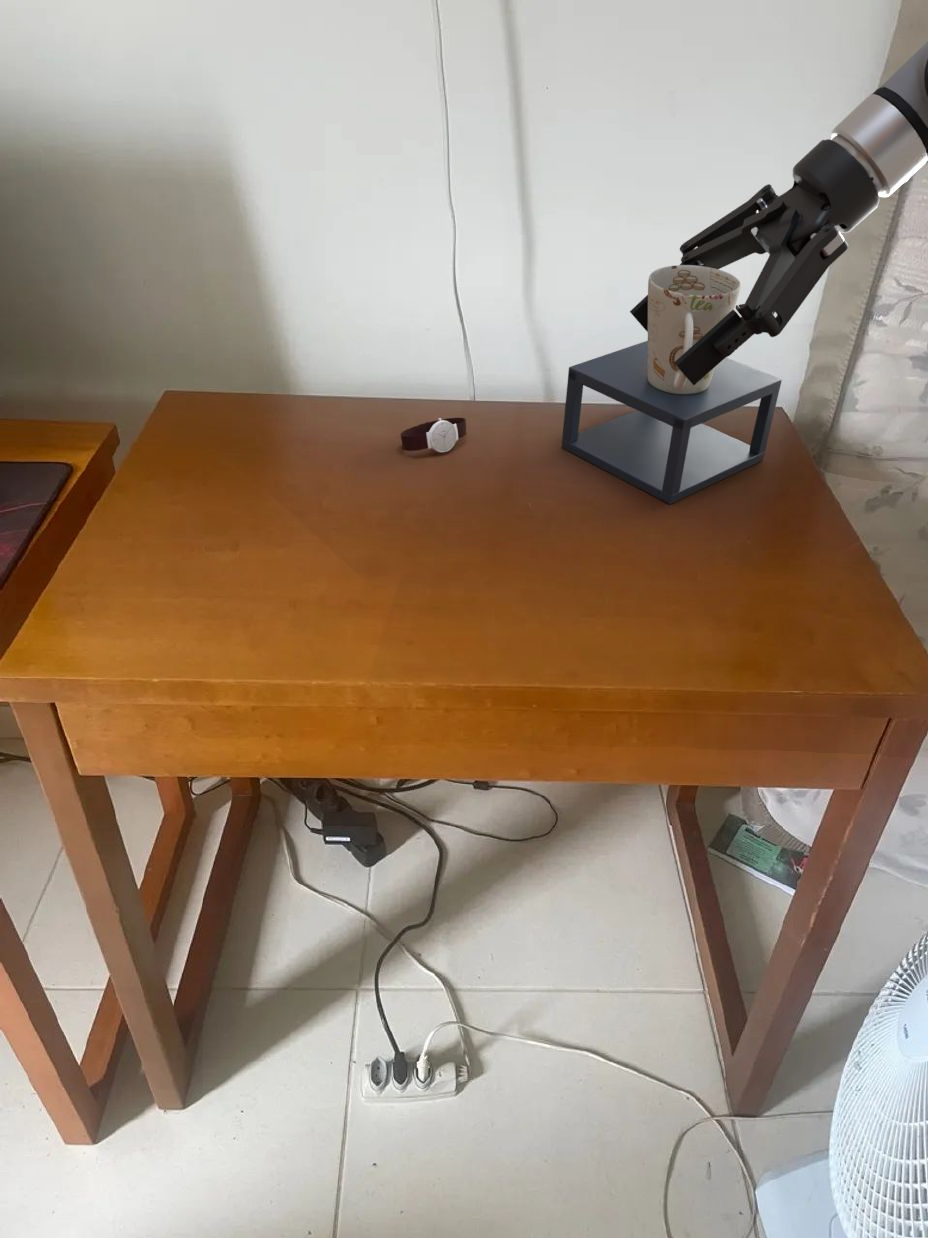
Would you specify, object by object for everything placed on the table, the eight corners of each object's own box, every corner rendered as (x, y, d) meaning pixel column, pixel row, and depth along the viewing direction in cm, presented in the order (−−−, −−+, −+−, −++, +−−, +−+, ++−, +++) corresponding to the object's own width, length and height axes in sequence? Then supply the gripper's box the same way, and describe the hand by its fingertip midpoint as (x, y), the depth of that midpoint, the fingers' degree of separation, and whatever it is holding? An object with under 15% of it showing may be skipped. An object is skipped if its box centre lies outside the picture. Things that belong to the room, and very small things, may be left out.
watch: (415, 464, 100) (415, 431, 98) (390, 446, 103) (390, 414, 101) (476, 445, 104) (477, 413, 102) (450, 428, 107) (451, 397, 105)
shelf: (763, 460, 103) (782, 379, 98) (669, 504, 95) (684, 419, 90) (654, 410, 112) (666, 333, 107) (560, 447, 104) (568, 366, 99)
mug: (718, 367, 99) (737, 267, 93) (727, 423, 89) (749, 316, 83) (635, 361, 100) (648, 262, 94) (635, 416, 90) (650, 309, 84)
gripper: (951, 241, 77) (731, 429, 84) (812, 167, 96) (642, 325, 103) (910, 170, 73) (682, 373, 80) (773, 107, 92) (599, 276, 99)
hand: (659, 347), depth 92 cm, fingers closed on mug, 12 cm apart
